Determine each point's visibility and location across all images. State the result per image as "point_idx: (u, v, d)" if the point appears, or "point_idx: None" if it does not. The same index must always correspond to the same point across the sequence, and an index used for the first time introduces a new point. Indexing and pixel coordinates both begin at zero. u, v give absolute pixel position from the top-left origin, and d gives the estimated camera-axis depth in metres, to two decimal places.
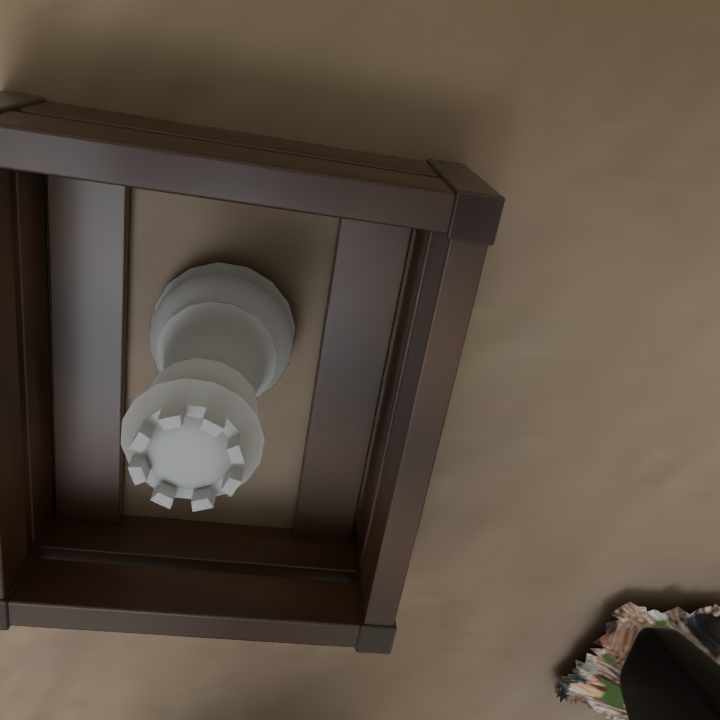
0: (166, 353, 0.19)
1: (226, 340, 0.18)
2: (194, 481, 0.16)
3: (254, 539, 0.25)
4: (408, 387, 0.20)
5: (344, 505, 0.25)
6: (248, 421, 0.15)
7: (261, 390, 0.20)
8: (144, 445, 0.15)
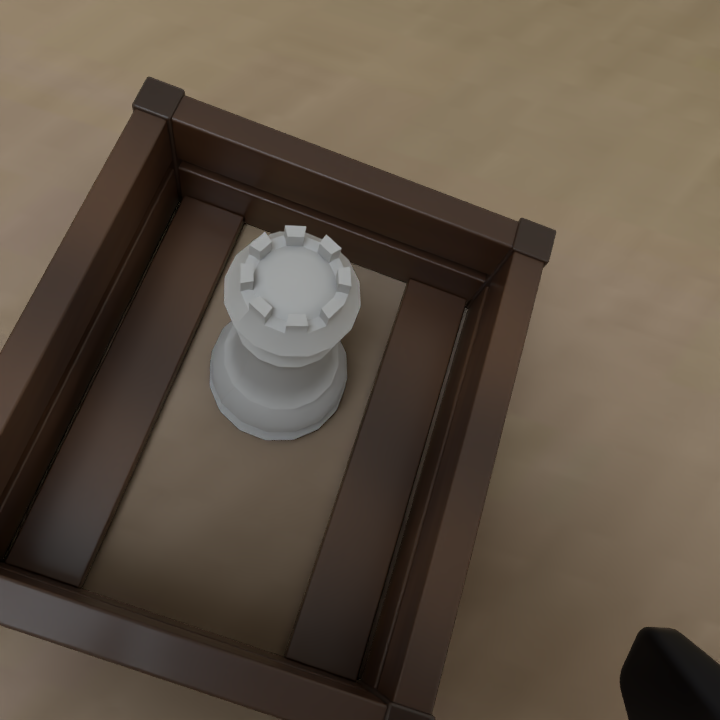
0: None
1: None
2: (293, 306, 0.16)
3: (240, 643, 0.19)
4: (466, 398, 0.20)
5: (358, 618, 0.20)
6: (352, 277, 0.17)
7: (316, 396, 0.20)
8: (264, 245, 0.16)
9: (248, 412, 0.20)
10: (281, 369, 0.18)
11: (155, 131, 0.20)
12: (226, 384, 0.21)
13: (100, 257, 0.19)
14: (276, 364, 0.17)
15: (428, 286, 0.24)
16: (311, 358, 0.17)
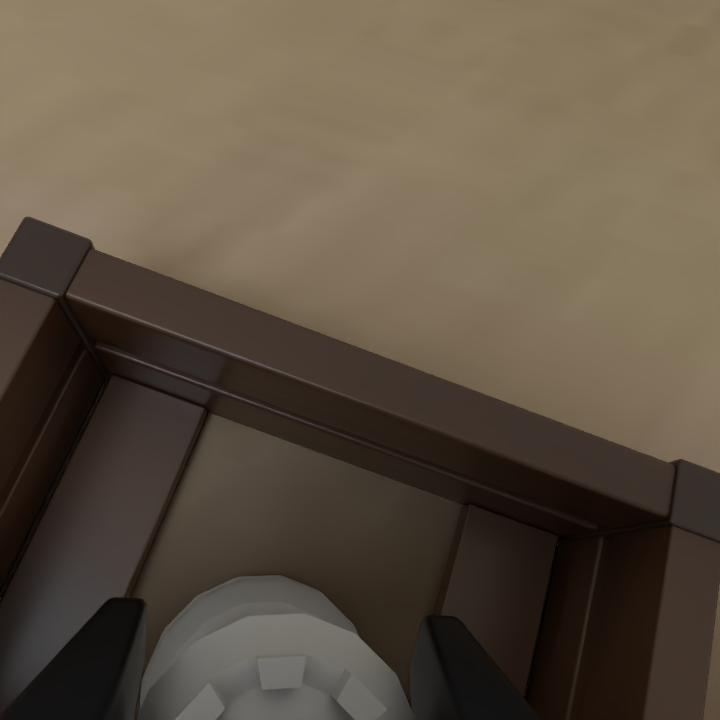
0: None
1: None
2: None
3: None
4: None
5: None
6: None
7: None
8: None
9: None
10: None
11: (32, 321, 0.11)
12: None
13: None
14: None
15: (498, 515, 0.15)
16: None
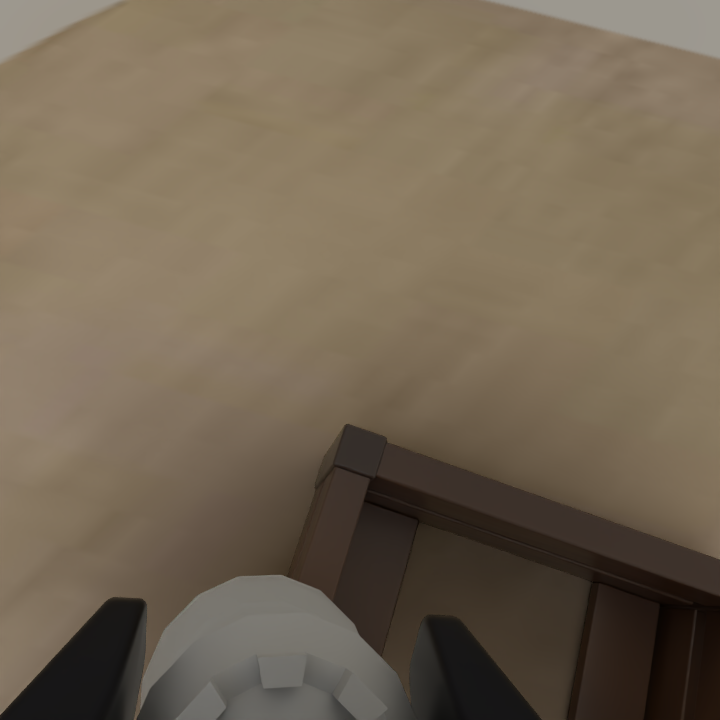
0: None
1: None
2: None
3: None
4: None
5: None
6: None
7: None
8: None
9: None
10: None
11: (360, 495, 0.18)
12: None
13: None
14: None
15: (619, 590, 0.22)
16: None
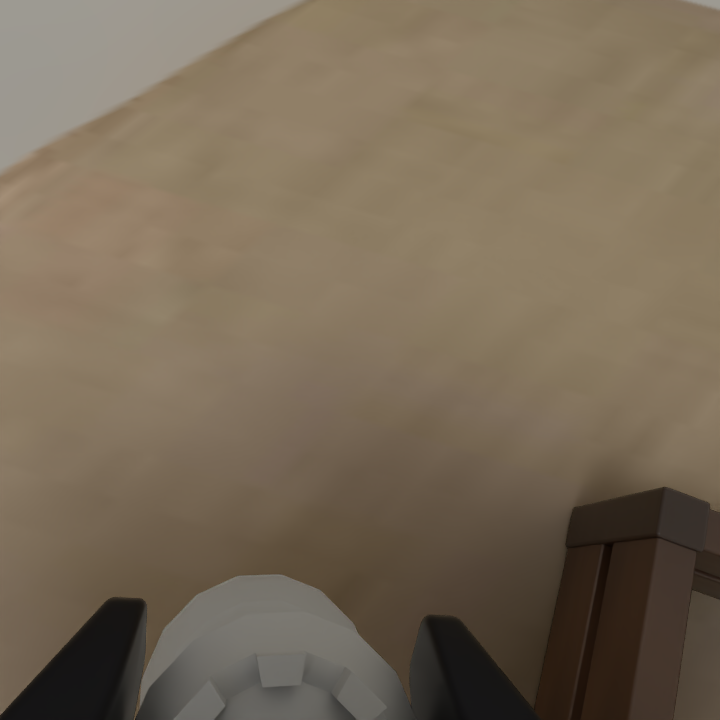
0: None
1: None
2: None
3: None
4: None
5: None
6: None
7: None
8: None
9: None
10: None
11: (689, 571, 0.15)
12: None
13: None
14: None
15: None
16: None
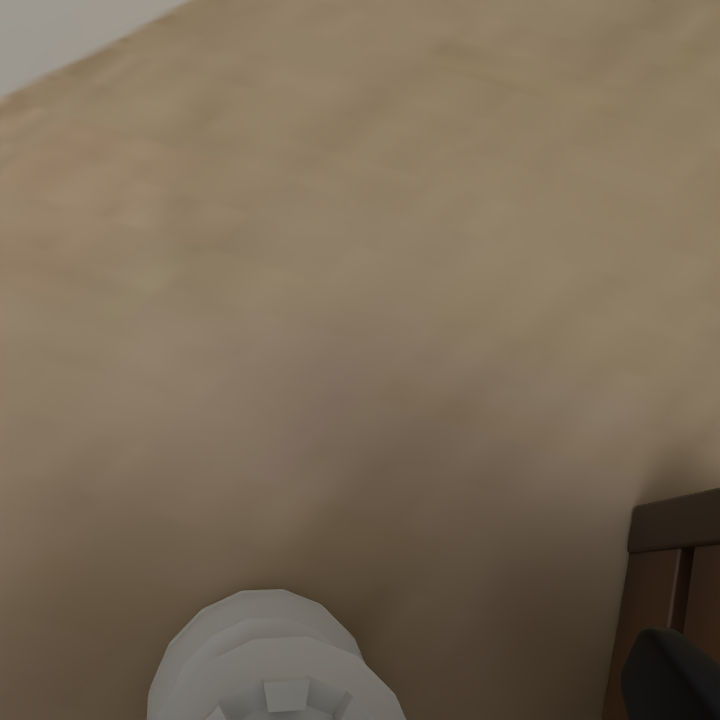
0: None
1: None
2: None
3: None
4: None
5: None
6: None
7: None
8: None
9: None
10: None
11: None
12: None
13: None
14: None
15: None
16: None
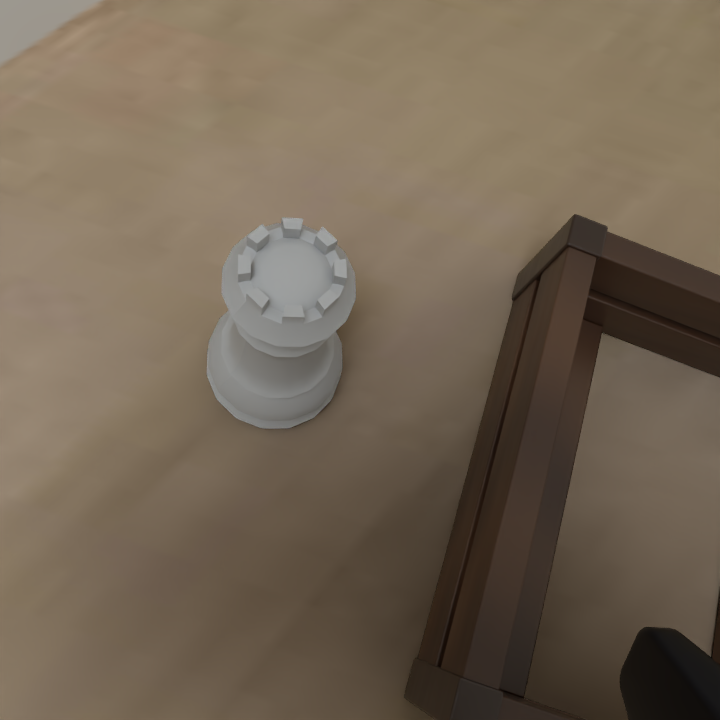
0: None
1: None
2: (289, 296, 0.16)
3: None
4: None
5: None
6: (348, 269, 0.17)
7: (311, 385, 0.21)
8: (262, 237, 0.16)
9: (245, 401, 0.21)
10: (277, 359, 0.18)
11: (590, 269, 0.21)
12: (223, 372, 0.21)
13: None
14: (272, 354, 0.18)
15: None
16: (307, 348, 0.18)
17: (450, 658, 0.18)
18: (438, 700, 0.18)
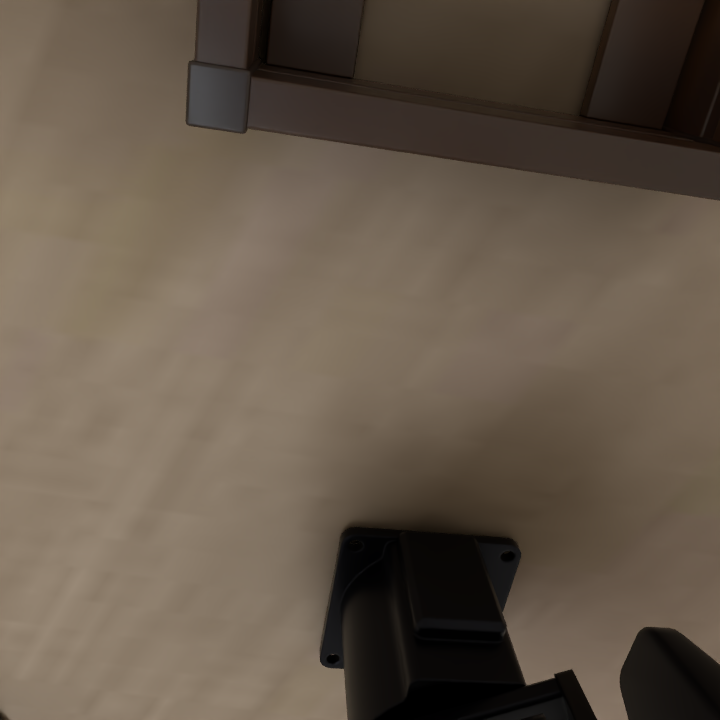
0: None
1: None
2: None
3: (539, 110, 0.18)
4: None
5: (668, 60, 0.18)
6: None
7: None
8: None
9: None
10: None
11: None
12: None
13: None
14: None
15: None
16: None
17: None
18: None
